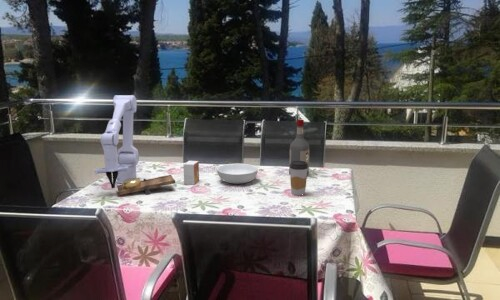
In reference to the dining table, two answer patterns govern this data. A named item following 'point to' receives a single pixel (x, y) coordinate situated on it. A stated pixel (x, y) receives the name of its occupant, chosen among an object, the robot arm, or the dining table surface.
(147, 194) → the beam stand
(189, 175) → the small box
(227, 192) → the dining table surface
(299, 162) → the coffee cup
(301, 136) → the liquor
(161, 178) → the beam
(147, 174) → the dining table surface
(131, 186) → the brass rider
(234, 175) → the serving bowl
